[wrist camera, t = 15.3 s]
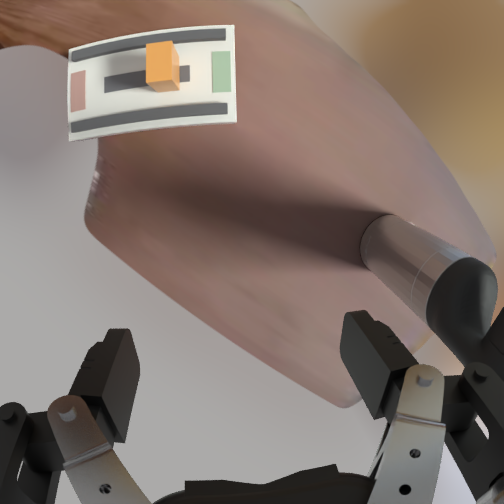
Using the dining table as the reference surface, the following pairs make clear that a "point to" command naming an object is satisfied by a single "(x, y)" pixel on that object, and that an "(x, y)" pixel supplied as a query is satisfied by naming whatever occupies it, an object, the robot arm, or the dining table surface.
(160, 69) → the block
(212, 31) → the pair of grey rails
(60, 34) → the dining table surface
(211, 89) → the breaker panel
